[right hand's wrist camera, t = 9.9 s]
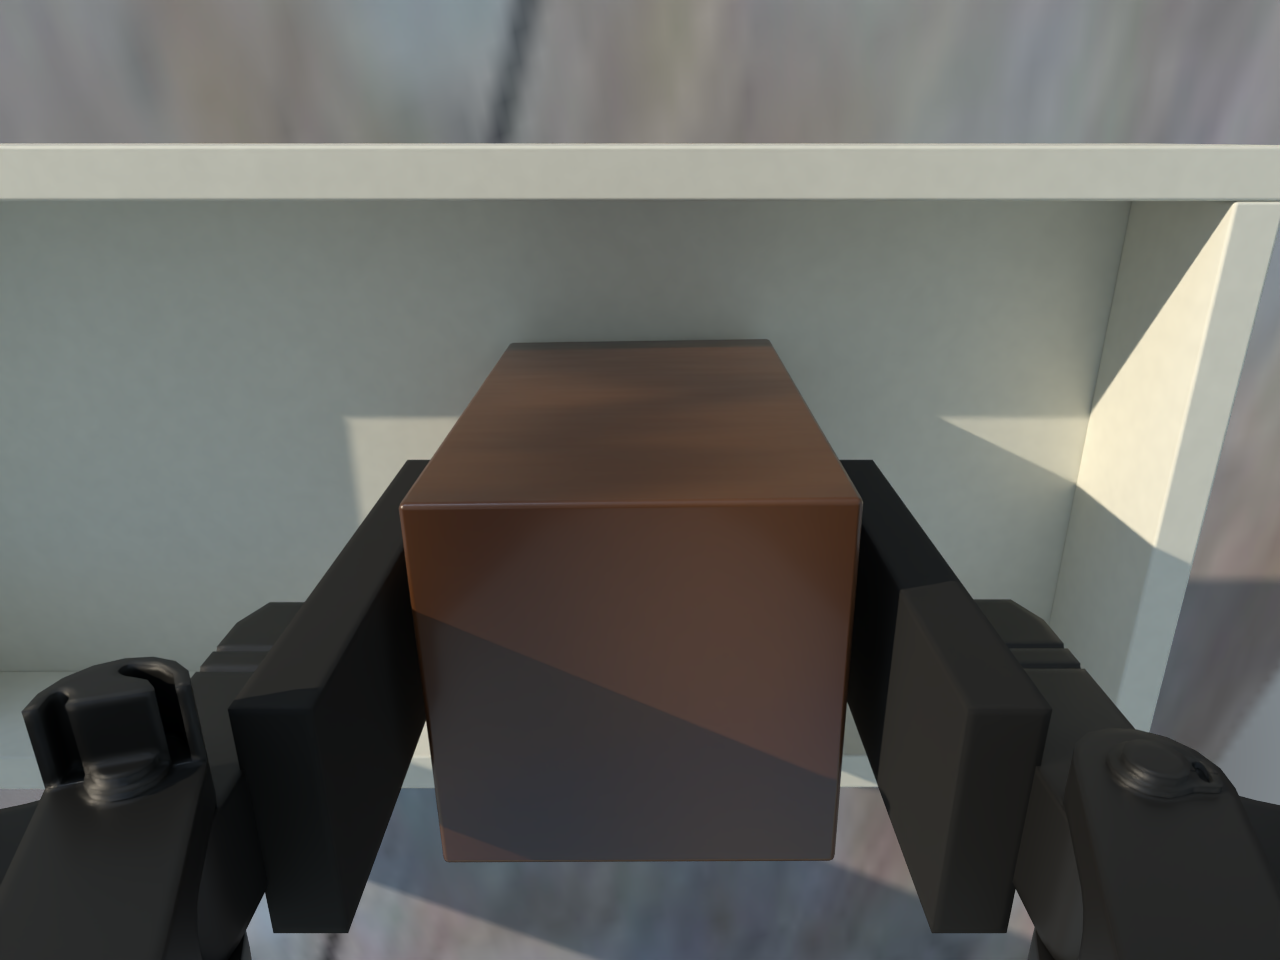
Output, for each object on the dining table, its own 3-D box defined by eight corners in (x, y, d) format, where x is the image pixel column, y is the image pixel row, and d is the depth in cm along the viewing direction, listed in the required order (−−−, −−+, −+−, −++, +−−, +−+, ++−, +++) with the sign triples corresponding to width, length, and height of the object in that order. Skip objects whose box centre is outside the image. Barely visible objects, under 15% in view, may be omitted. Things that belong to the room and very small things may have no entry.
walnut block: (770, 338, 17) (865, 499, 9) (761, 571, 19) (835, 863, 11) (509, 342, 17) (395, 504, 9) (526, 574, 19) (442, 864, 11)
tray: (1155, 143, 17) (1667, 150, 8) (1048, 673, 21) (1317, 1022, 13) (-671, 143, 17) (-1982, 150, 8) (-399, 675, 21) (-1081, 1030, 13)
